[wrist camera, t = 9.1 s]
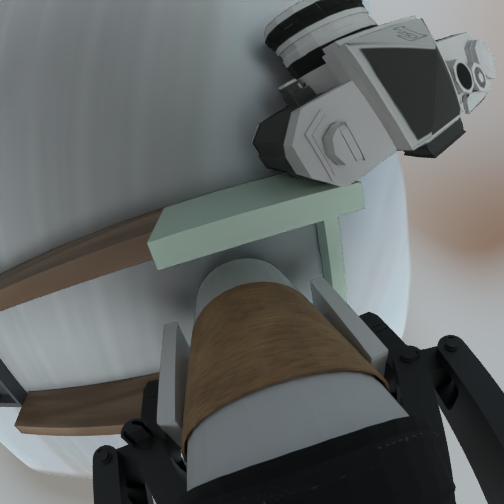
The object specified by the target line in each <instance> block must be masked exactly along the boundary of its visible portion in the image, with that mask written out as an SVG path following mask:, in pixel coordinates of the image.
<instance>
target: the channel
mask: <svg viewBox="0 0 504 504" xmlns="http://www.w3.org/2000/svg"><path fill="white" fill-rule="evenodd" d="M163 209H164V208H162V209H159V210H156V211H153V212H150V213H147V214H144V215H142V216H139V217H136V218H133V219H130V220H127V221H125V222H122V223H119V224H116V225H114V226H111V227H108V228H106V229H103V230H100V231H98V232H95V233H93V234H90V235H88V236H85V237H83V238H80V239H78V240H75V241H73V242H70V243H68V244H65V245H63V246H61V247H58V248H56V249H54V250H51V251H49V252H47V253H44V254H42V255H40V256H38V257H35V258H33V259H31V260H29V261H27V262H24V263H22V264H20V265H18V266H16V267H14V268H12V269H10V270H7V271H5V272H3V273H1V274H0V311H3V310H5V309H8V308H11V307H14V306H16V305H19V304H22V303H25V302H27V301H30V300H33V299H36V298H39V297H42V296H44V295H47V294H50V293H53V292H56V291H59V290H62V289H65V288H67V287H70V286H73V285H76V284H79V283H82V282H85V281H88V280H91V279H94V278H97V277H100V276H103V275H106V274H109V273H112V272H115V271H118V270H121V269H124V268H127V267H130V266H133V265H137V264H140V263H143V262H146V261H149V260H152V259H153V257H152V255H151V252H150V249H149V247H148V244H147V242H148V240H149V238H150V236H151V234H152V232H153V229H154V227H155V225H156V223H157V221H158V219H159V217H160V215H161V213H162V211H163ZM159 375H160V373H155V374H151V375H146V376H141V377H136V378H130V379H125V380H120V381H114V382H108V383H101V384H95V385H88V386H81V387H73V388H65V389H55V390H45V391H32V392H28V394H27V396H26V398H25V401H24V403H23V405H22V408H21V410H20V413H19V415H18V417H17V420H16V423H15V425H14V426H15V427H16V428H17V429H18V430H19V431H20V432H21V433H25V434H37V435H56V436H93V435H113V434H121V430H122V427H123V426H124V425H125V423H127V422H128V421H130V420H132V419H135V418H141V408H142V400H143V390H144V388H145V386H146V384H147V382H148V381H153V380H158V379H159Z"/></svg>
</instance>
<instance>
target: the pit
mask: <svg viewBox="0 0 504 504" xmlns="http://www.w3.org/2000/svg"><path fill="white" fill-rule="evenodd" d="M26 396H27V393H26V392H25V390H24V389H23V388H22V387H21V386H20V384H19V383H18V382H17V381H16V379H15V378H14V377H13V376H12V374H11V373H10V372H9V370H8V369H7V368H6V366H5V365H4V364H3V362H2V361H1V360H0V407H22V405H23V403H24V401H25V398H26Z"/></svg>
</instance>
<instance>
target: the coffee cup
mask: <svg viewBox="0 0 504 504" xmlns="http://www.w3.org/2000/svg"><path fill="white" fill-rule="evenodd" d="M439 443H440V436H439V434H437V433H436V432H435V431H434V428H433V424H432V421H431V420H430V419H429V418H428V417H426V416H418V415H413V416H409V415H408V414H407V412H406V411H405V410H404V409H403V408H402V407H401V406H400V405H399V403H398V402H397V401H396V400H395V399H394V398H393V397H392V395H391V394H390V387H389V385H388V383H387V381H386V380H385V378H384V377H383V376H382V375H381V374H380V373H379V372H378V371H377V370H376V369H375V368H374V367H373V366H372V365H371V364H370V363H369V362H368V361H367V360H366V359H365V358H364V357H363V356H362V355H361V354H360V353H359V352H358V351H357V350H356V349H355V348H354V347H353V345H352V344H351V343H350V342H349V341H348V340H347V339H346V338H345V337H344V336H343V335H342V334H341V333H340V332H339V331H338V330H337V329H336V328H335V327H334V326H333V325H332V324H331V323H330V322H329V321H328V320H327V319H326V318H325V317H324V316H323V315H322V314H321V313H320V312H319V311H318V310H317V309H316V308H315V307H314V306H313V305H312V304H311V303H310V302H309V300H308V299H307V298H305V297H304V296H303V295H302V294H301V293H300V292H299V291H298V290H297V289H296V288H295V286H294V285H293V284H292V283H291V282H290V281H289V280H288V279H287V278H286V276H285V275H284V274H283V273H282V272H280V271H279V270H278V269H277V268H276V267H275V266H273V265H271V264H270V263H268V262H265V261H262V260H259V259H251V258H245V259H236V260H232V261H229V262H227V263H224V264H222V265H220V266H219V267H217V268H216V269H214V270H213V271H212V272H211V273H210V274H209V275H208V276H207V277H206V278H205V279H204V281H203V282H202V284H201V285H200V288H199V290H198V293H197V298H196V306H195V316H194V327H193V331H192V339H191V348H190V356H189V365H188V374H187V384H186V394H185V405H184V417H183V429H182V444H181V453H182V455H183V458H184V460H185V462H186V463H187V492H185V493H184V494H182V495H180V496H179V497H178V499H177V500H176V501H175V502H174V504H443V503H444V502H446V501H447V500H448V499H449V498H450V497H451V495H452V494H453V493H454V491H455V484H454V482H453V480H452V478H451V476H450V474H449V471H448V469H447V467H446V465H445V463H444V461H443V458H442V456H441V454H440V452H439V450H438V447H439Z"/></svg>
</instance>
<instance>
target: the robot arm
mask: <svg viewBox="0 0 504 504" xmlns="http://www.w3.org/2000/svg"><path fill="white" fill-rule="evenodd" d="M310 284H311V290H312V297H313V304H314V307H315V308H316V309H317V310H318V311H319V312H320V313H321V314H322V315H323V316H324V317H325V318H326V319H327V320H328V321H329V322H330V323H331V324H332V325H333V326H334V327H335V328H336V329H337V330H338V331H339V332H340V333H341V334H342V335H343V336H344V337H345V338H346V339H347V340H348V341H349V342H350V343H351V344H352V345H353V347H354V348H355V349H356V350H357V351H358V352H359V353H360V354H361V355H362V356H363V357H364V358H365V359H366V360H367V361H368V362H369V363H370V364H371V365H372V366H373V367H374V368H375V369H376V370H377V371H378V372H379V373H380V374H381V375H382V376H383V377H384V378H385V380H386V381H387V383H388V385H389V387H390V394H391V395H392V397H393V398H394V399H395V400H396V401H397V402H398V403H399V405H400V406H401V407H402V408H403V409H404V410H405V411H406V412H407V414H408V415H409V416H413V415H418V416H426V417H428V418H429V419H430V420H431V421H432V424H433V428H434V431H435V432H436V433H437V434H439V436H440V443H439V447H438V450H439V452H440V454H441V456H442V458H443V461H444V463H445V465H446V467H447V469H448V471H449V474H450V476H451V478H452V480H453V477H452V470H451V463H450V457H449V451H448V446H447V441H446V436H445V431H444V427H443V423H442V418H441V414H440V410H439V407H440V408H441V410H442V412H443V414H444V415H445V417H446V419H447V420H448V423H449V424H450V426H451V428H452V430H453V432H454V434H455V435H456V437H457V439H458V441H459V443H460V445H461V447H462V449H463V451H464V453H465V455H466V457H467V459H468V461H469V463H470V465H471V467H472V469H473V471H474V473H475V476H476V478H477V480H478V482H479V484H480V487H481V489H482V491H483V493H484V496H485V498H486V500H487V502H488V504H504V393H503V391H502V390H501V389H500V387H499V386H498V385H497V383H496V382H495V381H494V379H493V378H492V377H491V375H490V374H489V373H488V371H487V370H486V369H485V367H484V366H483V365H482V364H481V362H480V361H479V360H478V359H477V358H476V356H475V355H474V354H473V353H472V351H471V350H470V349H469V348H468V346H467V345H466V344H465V343H464V342H463V340H462V339H460V338H459V337H457V336H454V335H448V336H444V337H442V338H441V339H440V340H439V342H438V345H437V346H436V347H432V348H428V349H423V350H420V349H418V348H417V347H414V346H407V345H406V344H405V343H404V342H403V341H402V340H401V339H400V338H399V337H398V336H397V335H396V334H395V333H394V332H393V331H392V330H391V329H390V328H389V327H388V325H387V324H386V323H384V321H383V320H382V319H381V318H380V317H379V316H378V315H375V314H373V313H371V312H367V313H365V314H363V315H360V316H358V315H357V314H356V313H355V312H354V311H353V309H352V308H351V307H350V306H349V305H348V304H347V303H346V302H345V301H344V300H343V298H342V297H341V296H340V295H339V294H338V293H337V292H336V291H335V290H334V289H333V288H332V286H331V285H330V284H329V283H328V282H327V281H326V280H325V279H324V278H323V277H320V278H317V279H314V280H311V281H310ZM189 356H190V348H189V346H188V344H187V342H186V340H185V338H184V336H183V333H182V331H181V329H180V327H179V325H178V323H177V322H175V323H171V324H167V325H164V332H163V342H162V352H161V363H160V375H159V379H158V380H153V381H148V382H147V384H146V386H145V388H144V390H143V400H142V408H141V418H135V419H132V420H130V421H128V422H127V423H125V425H124V426H123V427H122V430H121V438H122V439H123V440H125V441H126V442H127V443H128V445H126V446H124V447H121V448H118V449H115V448H114V447H112V446H110V445H104V446H101V447H99V448H98V449H97V450H96V451H95V453H94V456H93V490H94V504H153V499H152V496H153V498H154V500H155V502H156V503H157V504H174V502H175V501H176V500H177V499H178V497H179V496H180V495H182V494H184V493H185V492H187V463H186V462H185V460H184V459H183V458H182V457H181V444H182V429H183V417H184V405H185V394H186V384H187V374H188V365H189ZM438 405H439V406H438ZM443 504H456V502H455V494H454V493H453V494H452V495H451V497H450V498H449V499H448V500H447V501H446V502H444V503H443Z"/></svg>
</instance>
